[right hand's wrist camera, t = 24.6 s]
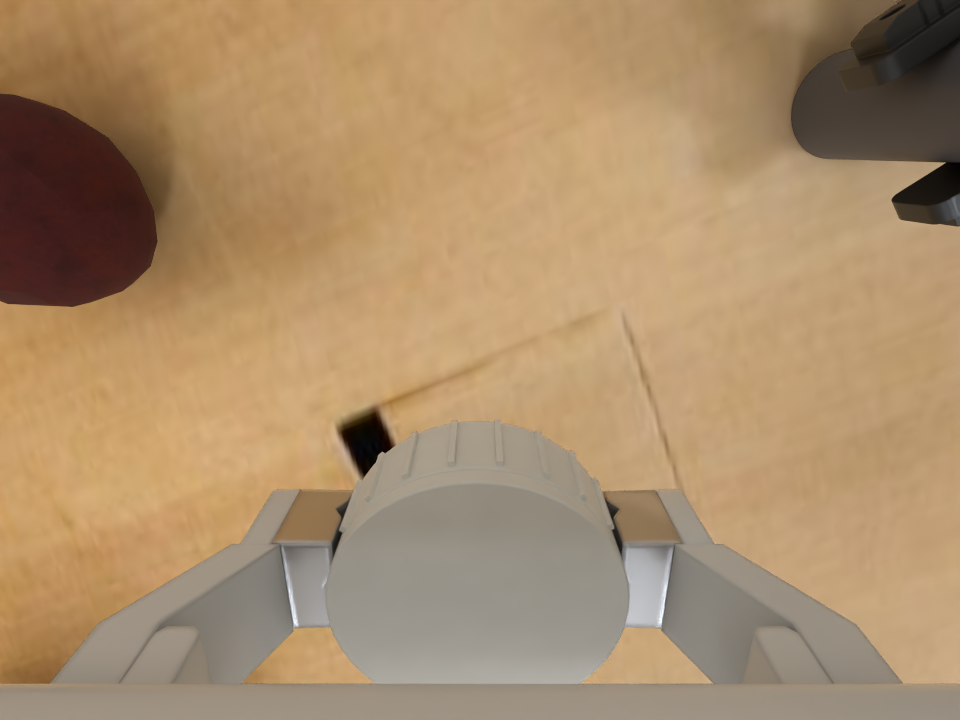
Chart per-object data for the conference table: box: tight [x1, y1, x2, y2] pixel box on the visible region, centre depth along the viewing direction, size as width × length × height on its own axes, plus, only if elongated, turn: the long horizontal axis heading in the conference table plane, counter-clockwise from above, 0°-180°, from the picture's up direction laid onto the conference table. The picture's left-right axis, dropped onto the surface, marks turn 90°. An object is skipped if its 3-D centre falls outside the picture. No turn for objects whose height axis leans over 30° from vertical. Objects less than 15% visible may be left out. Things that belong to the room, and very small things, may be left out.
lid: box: [325, 420, 630, 684], centre depth 9 cm, size 5×5×2 cm
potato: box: [0, 94, 157, 307], centre depth 20 cm, size 7×8×7 cm
